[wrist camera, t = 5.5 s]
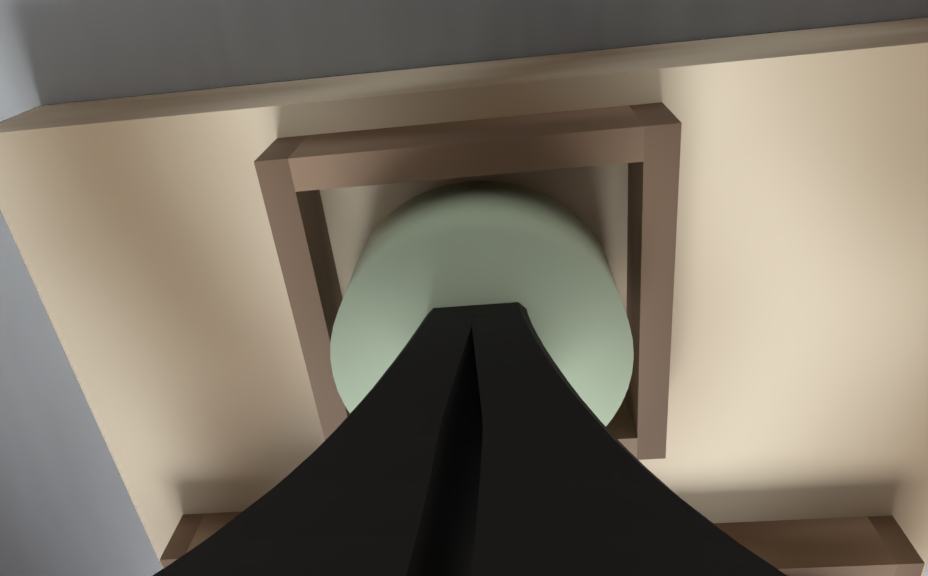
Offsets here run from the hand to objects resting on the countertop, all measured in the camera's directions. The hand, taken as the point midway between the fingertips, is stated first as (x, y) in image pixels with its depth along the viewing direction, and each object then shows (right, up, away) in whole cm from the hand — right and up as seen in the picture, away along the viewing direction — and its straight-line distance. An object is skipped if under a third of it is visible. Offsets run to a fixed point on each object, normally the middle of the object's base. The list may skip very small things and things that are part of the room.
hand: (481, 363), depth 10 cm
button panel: (+1, -2, +6) cm, 6 cm away
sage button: (0, +1, +2) cm, 2 cm away
